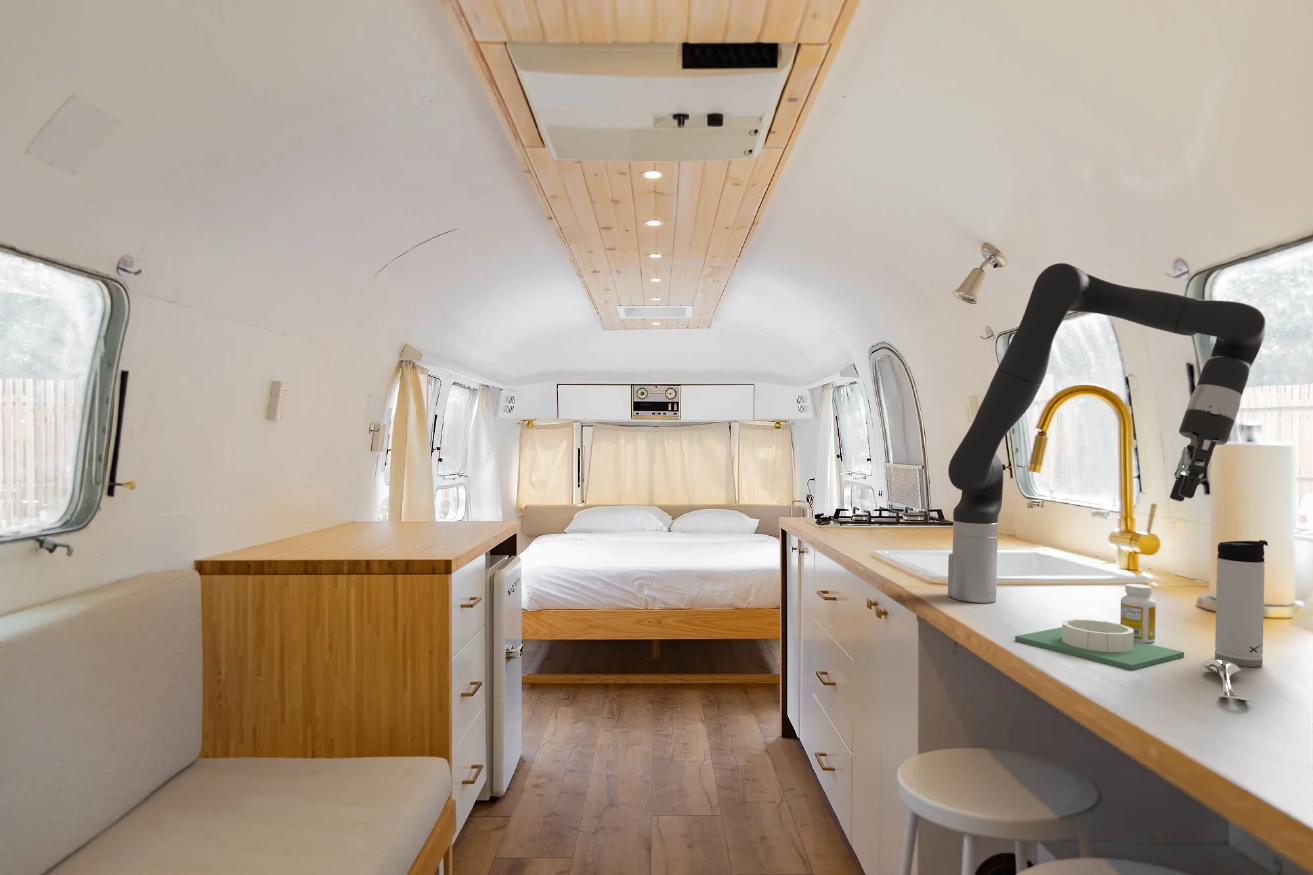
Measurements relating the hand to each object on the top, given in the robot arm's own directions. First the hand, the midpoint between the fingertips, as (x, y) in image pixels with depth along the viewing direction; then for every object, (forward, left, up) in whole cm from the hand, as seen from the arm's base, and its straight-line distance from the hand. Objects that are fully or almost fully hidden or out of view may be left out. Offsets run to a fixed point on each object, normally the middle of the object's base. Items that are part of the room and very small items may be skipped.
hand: (1180, 498), depth 144 cm
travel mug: (+13, -7, -26) cm, 30 cm away
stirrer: (+19, -25, -26) cm, 41 cm away
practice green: (-3, -20, -25) cm, 33 cm away
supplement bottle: (-3, -7, -26) cm, 27 cm away
